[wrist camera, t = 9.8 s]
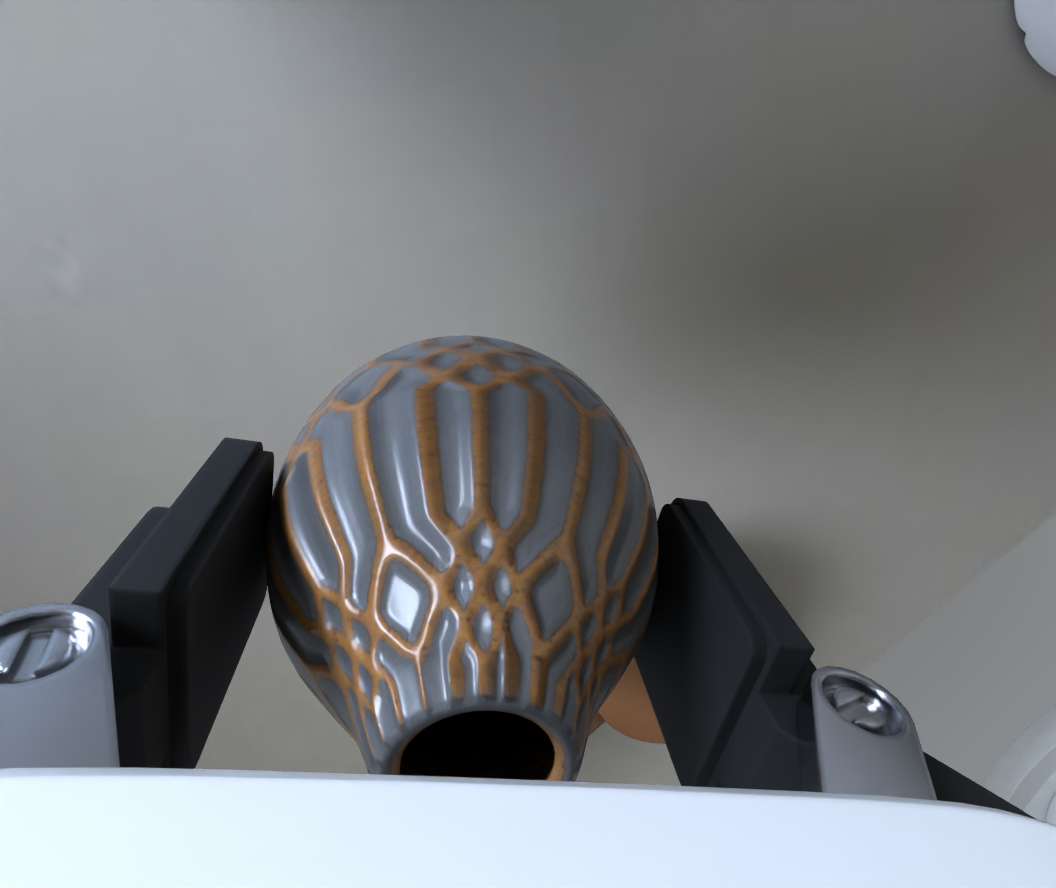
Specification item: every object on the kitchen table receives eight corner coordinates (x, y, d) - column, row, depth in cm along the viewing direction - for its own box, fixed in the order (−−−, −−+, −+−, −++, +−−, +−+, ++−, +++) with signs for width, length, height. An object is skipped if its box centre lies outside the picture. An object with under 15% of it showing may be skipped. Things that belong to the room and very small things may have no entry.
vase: (660, 400, 15) (894, 675, 7) (506, 601, 17) (555, 987, 9) (406, 238, 13) (335, 378, 5) (264, 492, 15) (55, 876, 7)
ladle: (662, 516, 23) (691, 565, 20) (779, 602, 25) (818, 655, 23) (305, 873, 29) (291, 946, 27) (426, 914, 32) (424, 984, 29)
